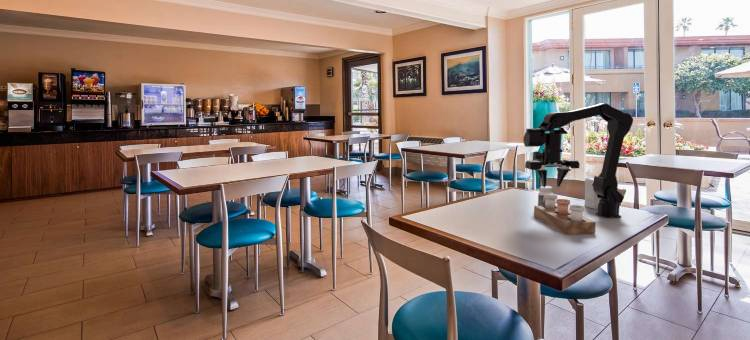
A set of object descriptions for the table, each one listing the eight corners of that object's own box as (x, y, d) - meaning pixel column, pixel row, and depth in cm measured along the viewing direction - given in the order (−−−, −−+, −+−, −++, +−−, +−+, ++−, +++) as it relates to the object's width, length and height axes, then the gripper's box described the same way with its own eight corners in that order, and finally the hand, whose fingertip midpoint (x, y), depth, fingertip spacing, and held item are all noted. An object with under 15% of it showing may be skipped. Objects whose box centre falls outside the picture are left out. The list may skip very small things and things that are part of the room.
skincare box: (603, 208, 172) (604, 179, 171) (593, 209, 171) (595, 180, 170) (592, 205, 178) (593, 177, 177) (583, 206, 177) (584, 178, 176)
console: (558, 214, 164) (559, 205, 163) (595, 233, 139) (595, 221, 138) (533, 215, 163) (534, 205, 162) (565, 234, 138) (566, 222, 138)
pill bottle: (554, 212, 168) (555, 188, 166) (539, 212, 169) (540, 188, 167) (550, 209, 173) (551, 185, 172) (536, 208, 174) (537, 185, 173)
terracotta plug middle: (565, 214, 153) (566, 198, 152) (571, 217, 148) (572, 201, 148) (553, 215, 153) (553, 199, 152) (559, 218, 148) (560, 201, 147)
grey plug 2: (579, 221, 144) (580, 204, 143) (586, 225, 139) (587, 207, 138) (566, 221, 143) (567, 204, 142) (573, 225, 139) (573, 208, 138)
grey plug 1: (553, 208, 162) (553, 193, 161) (558, 211, 158) (559, 196, 157) (541, 209, 162) (542, 193, 161) (547, 211, 158) (547, 196, 157)
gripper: (566, 143, 165) (564, 182, 167) (520, 145, 164) (518, 183, 166) (581, 146, 154) (579, 187, 156) (532, 147, 153) (530, 189, 155)
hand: (551, 186), depth 159 cm, fingers open, 5 cm apart
